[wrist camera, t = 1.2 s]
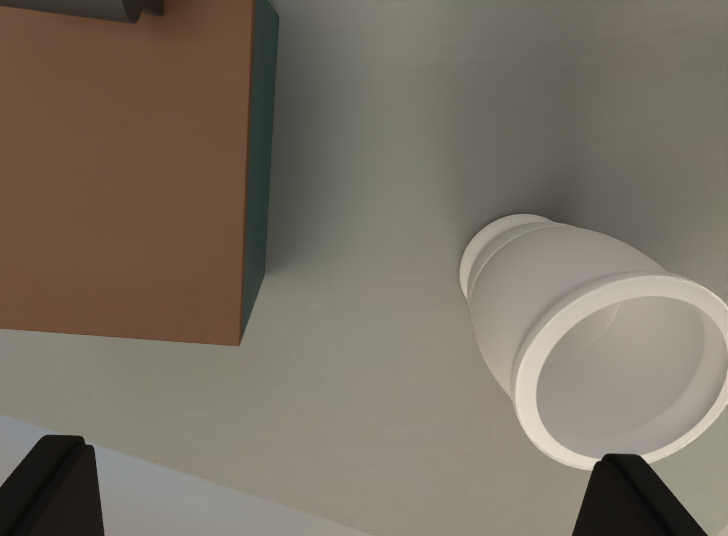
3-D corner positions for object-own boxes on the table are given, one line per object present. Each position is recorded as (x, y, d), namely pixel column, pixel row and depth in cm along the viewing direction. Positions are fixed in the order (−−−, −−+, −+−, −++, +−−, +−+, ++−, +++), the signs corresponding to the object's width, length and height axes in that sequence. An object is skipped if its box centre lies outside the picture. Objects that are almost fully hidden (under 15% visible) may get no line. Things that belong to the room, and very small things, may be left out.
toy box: (54, -17, 28) (-72, -63, 19) (279, 15, 30) (257, -15, 21) (76, 258, 34) (-13, 319, 25) (264, 275, 35) (242, 339, 26)
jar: (434, 326, 37) (495, 470, 23) (456, 191, 34) (545, 267, 20) (567, 334, 38) (703, 478, 24) (602, 204, 35) (785, 285, 21)
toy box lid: (-77, -88, 19) (-230, -152, 14) (257, -37, 20) (232, -79, 15) (-14, 319, 25) (-105, 382, 20) (241, 339, 26) (219, 402, 21)
